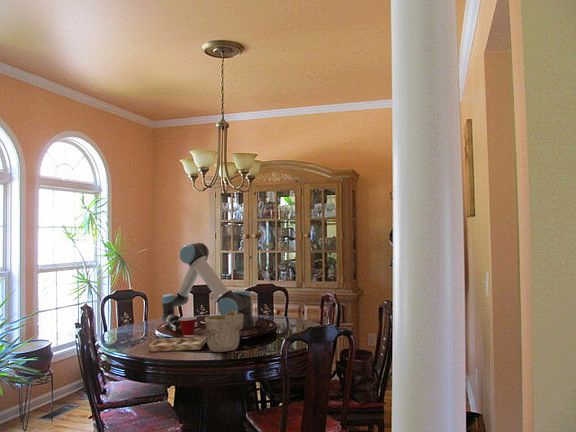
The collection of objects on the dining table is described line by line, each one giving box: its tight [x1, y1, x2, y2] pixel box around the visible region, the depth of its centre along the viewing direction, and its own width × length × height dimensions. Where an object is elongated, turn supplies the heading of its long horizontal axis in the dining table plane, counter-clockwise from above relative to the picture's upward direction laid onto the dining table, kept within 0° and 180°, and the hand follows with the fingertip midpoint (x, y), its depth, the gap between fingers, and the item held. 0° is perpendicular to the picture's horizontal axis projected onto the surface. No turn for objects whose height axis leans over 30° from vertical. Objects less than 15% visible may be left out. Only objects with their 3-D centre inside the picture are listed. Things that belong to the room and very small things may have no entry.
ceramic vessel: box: [204, 311, 244, 353], centre depth 268 cm, size 23×24×25 cm
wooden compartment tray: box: [147, 336, 207, 352], centre depth 276 cm, size 29×15×3 cm, turn 87°
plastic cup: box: [178, 316, 197, 336], centre depth 295 cm, size 11×11×12 cm
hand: (186, 326), depth 297 cm, fingers open, 13 cm apart
